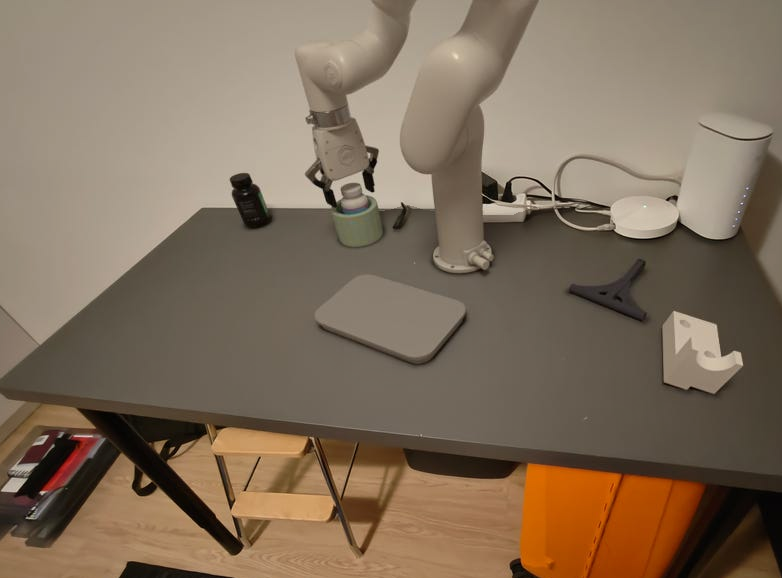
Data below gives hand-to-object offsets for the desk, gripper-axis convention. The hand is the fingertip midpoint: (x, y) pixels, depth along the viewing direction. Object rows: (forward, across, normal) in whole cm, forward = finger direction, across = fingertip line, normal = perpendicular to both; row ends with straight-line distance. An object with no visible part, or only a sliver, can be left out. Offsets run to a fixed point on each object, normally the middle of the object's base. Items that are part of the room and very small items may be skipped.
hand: (351, 198), depth 103 cm
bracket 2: (+10, +18, -74) cm, 77 cm away
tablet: (+10, -12, -32) cm, 35 cm away
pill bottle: (+9, 0, 0) cm, 9 cm away
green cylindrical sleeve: (+9, 0, 0) cm, 9 cm away
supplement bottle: (+10, -16, +26) cm, 32 cm away
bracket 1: (+10, +26, -55) cm, 62 cm away
